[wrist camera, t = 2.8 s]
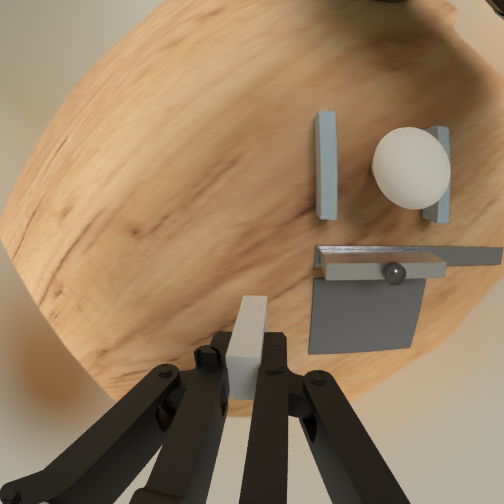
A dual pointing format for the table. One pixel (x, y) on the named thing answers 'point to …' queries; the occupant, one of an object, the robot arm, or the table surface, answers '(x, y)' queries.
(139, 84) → the table surface
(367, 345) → the mat
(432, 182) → the light bulb
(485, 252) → the track
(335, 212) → the channel
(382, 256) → the latch bar
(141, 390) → the robot arm
